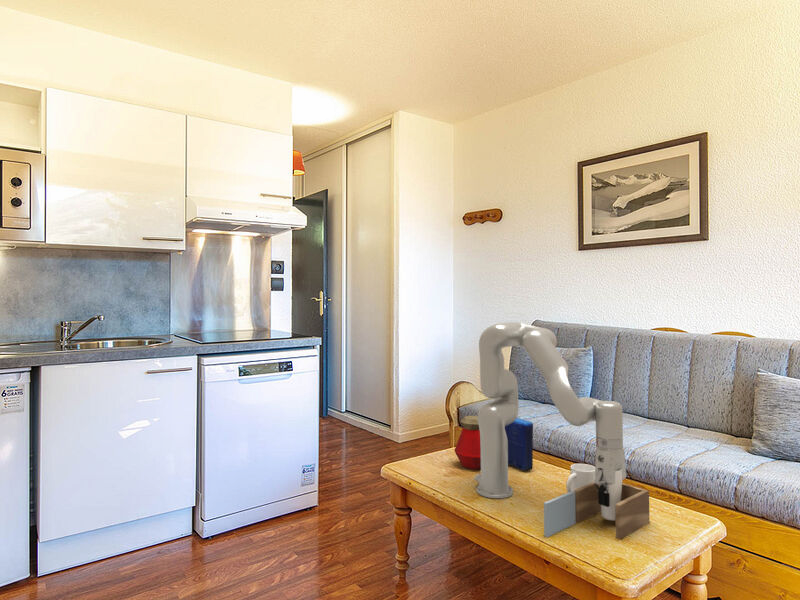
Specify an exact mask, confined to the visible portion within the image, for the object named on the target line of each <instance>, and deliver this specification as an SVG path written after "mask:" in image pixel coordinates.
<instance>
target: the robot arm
mask: <svg viewBox="0 0 800 600" xmlns="http://www.w3.org/2000/svg"><path fill="white" fill-rule="evenodd" d="M557 345H558V339H557V336H556V335H555V333H554V331H552V330H550V329H549V328H545V327H539V326H536V325H531V324H526V323H521V322H517V321H516V322H515V321H514V322H499V323H494V324H492V325H490V326H489V327H487V328H485V329H484V330H483V332H482V333H481V334H480V337H479V340H478V350H479V377H480V378H479V379H480V391H481V394H482V395H483V396H484V397H485V398H488V399H493V400H492V401H489V402H486V403H485V404H484V405H482V406H481V407H480V409H478V412H477V417H478V424H479V430H480V447H481V469H480V473H479V472H478V473H477V474H476V475H475V476H474V477H473V480H474V481H476V482H478V485H477V486H476V492H477V493H478V494H479V495H480V496H482V497H484V498H490V499H506V498H509V497H511V496H512V495H513V494H514V489H513V487H511V486H510V485H509V465H508V440H507V435H506V432H505V426H507V425H509V424H511V423H513V422H514V421H515V420H516V418H518V416H519V390H518V389H519V388H518V387H519V386H518V380H517V378H516V375H515V374H514V373H513V372H512V371H511V370H510V369H508V368H505V358H504V354H503V352H502V349H504V348H509V347H519V348H523V349H524V351H525V352H526V353H527V355H528V356H529V358H530V359H531V360H532V362H533V363H534V365H535V366H536V368H537V369H538V370H539V372H540V373H541V374H542V376H543V378H544V380H545V383H546V388H547V390H548V394H549V395H550V398H551V400H552V403H553V404H554V406H555V408H556V409H557V410H558V412H559V413H560V415H561V416H562V417H563V419H564V420H565V421H566V422H568V423H569V424H570V425H572V426H575V427H582V426H584V425H586V424H588V423H591V422H595V446H596V451H595V462H594V463H595V464H594V465H595V466H594V467H595V477H596V478H595V480H594V484H595V485H596V488H597V491H598V502H599V504H600V505H603V506H606V507H609V506H610V504H609V493H608V489H609V485H612V484H614V483H615V471H619V470H621V469H622V482H623V480H625V479H626V477H627V467H626V466H627V465H626V464H627V463H626V455H625V450H624V434H623V433H624V426H623V425H624V422H623V421H624V419H623V415H624V414H623V406H622V404H621V403H619V402H618V401H613V400H600V399H597V398H594V397H590V396H582V397H580V398H579V397H578V395H577V394H576V393H575V392H574V390H573V388H572V386H571V384H570V382H569V378H568V377H569V376H568V375H569V365H568V363H567V362H566V359H564V358H563V357H562V355H561V353H559V351H558V350H557V348H556V347H557ZM603 477H604V479H605V482H604V481H601V480H602V478H603ZM601 483H604V484H606V485H605V488H604V486H603V485H602V484H601ZM621 500H622V494H621Z"/></svg>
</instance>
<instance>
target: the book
mask: <svg viewBox="0 0 800 600" xmlns="http://www.w3.org/2000/svg"><path fill="white" fill-rule="evenodd" d="M505 432H506V435H507V440H508V466H510V467H512V468H514V469H517V470H520V471H524V472H527V471H531V470H533V469H534V467H533V465H534V464H533V461H534V460H533V459H534V457H533V456H534V443H533V442H534V439H533V438H534V437H533V436H534V423H533V422H532V421H531V420H527V419H524V418H523V419H522V418H519V417H517V418H516V420H515V421H514V422H513V423H511V424H509V425H507V426H505Z"/></svg>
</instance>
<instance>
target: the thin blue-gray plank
mask: <svg viewBox="0 0 800 600" xmlns="http://www.w3.org/2000/svg"><path fill="white" fill-rule="evenodd" d="M573 525H576V521H575V492H574V491H571V492H566V493H564V494H561V495H559V496H556V497H554V498H552V499H549V500H547V501H544V502H543V537H545V538H549V537H551V536H553V535H556V534H557V533H559V532H561V531H564V530H565V529H567V528H569V527H572V526H573Z"/></svg>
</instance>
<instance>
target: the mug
mask: <svg viewBox="0 0 800 600" xmlns="http://www.w3.org/2000/svg"><path fill="white" fill-rule="evenodd" d="M595 478H596V477H595V466H594V465H591V464H586V463H573V464H571V465H570V475H569V476H568V477H567V480H566V491H567V492H566V493H568V492H571V491H574V490H576V489H578V488H580V487H583V486H585V485H588V484H590V483H593V482H594V480H595Z"/></svg>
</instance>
